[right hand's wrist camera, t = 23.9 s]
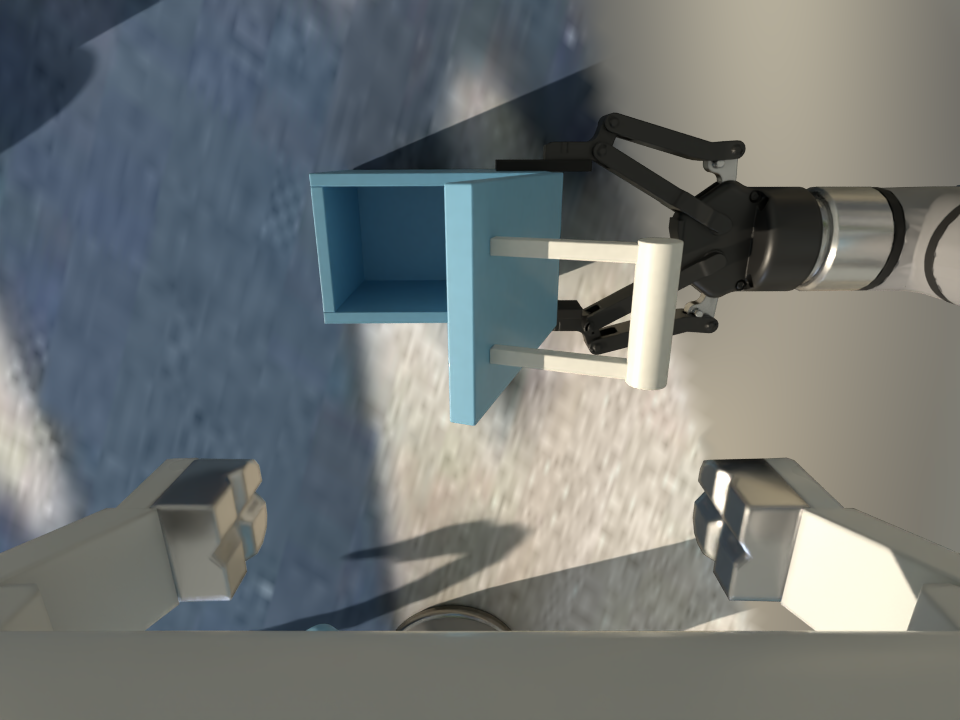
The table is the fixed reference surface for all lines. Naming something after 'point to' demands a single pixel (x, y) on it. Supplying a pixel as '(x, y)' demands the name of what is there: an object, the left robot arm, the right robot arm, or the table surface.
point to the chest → (385, 242)
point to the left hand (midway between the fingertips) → (495, 240)
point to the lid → (538, 291)
